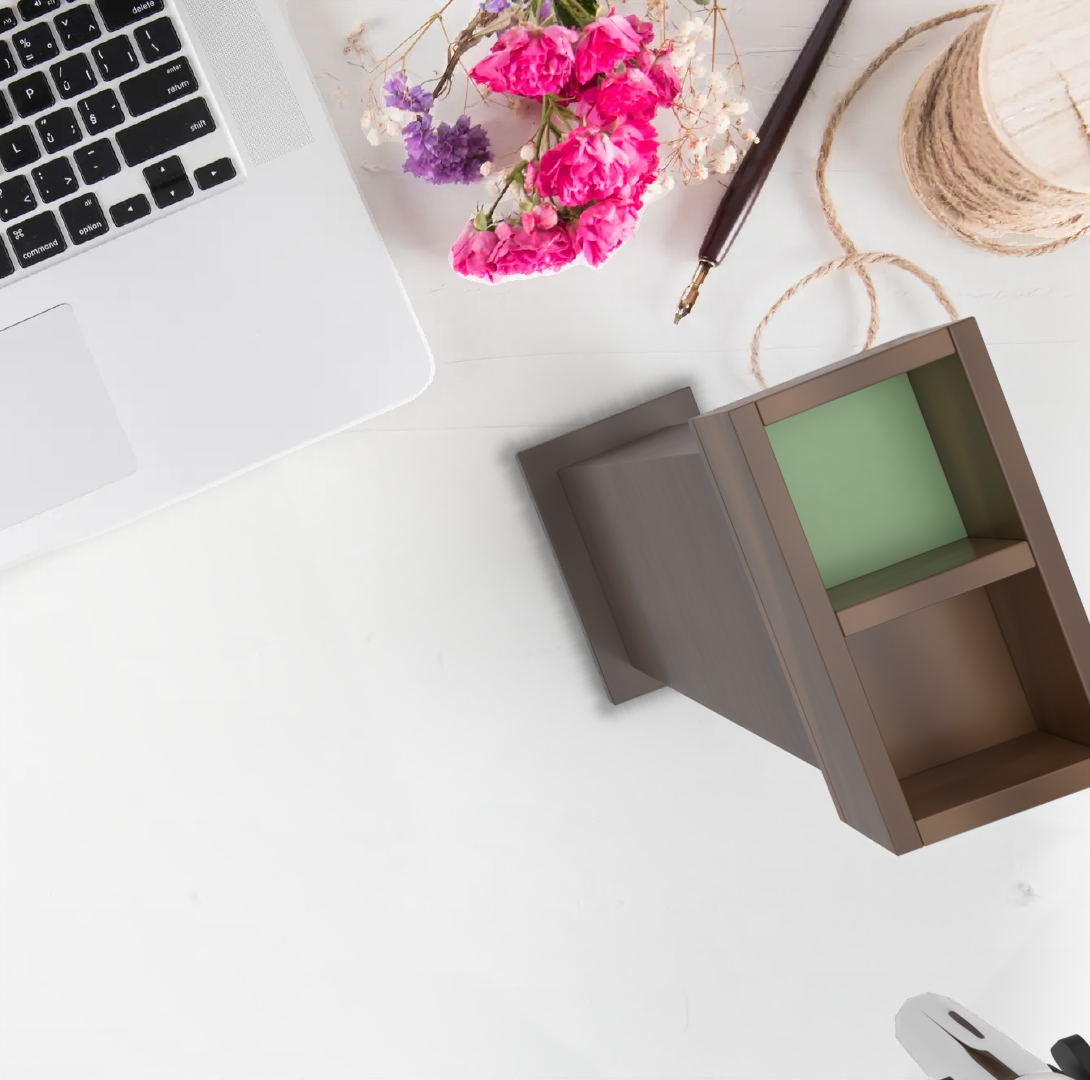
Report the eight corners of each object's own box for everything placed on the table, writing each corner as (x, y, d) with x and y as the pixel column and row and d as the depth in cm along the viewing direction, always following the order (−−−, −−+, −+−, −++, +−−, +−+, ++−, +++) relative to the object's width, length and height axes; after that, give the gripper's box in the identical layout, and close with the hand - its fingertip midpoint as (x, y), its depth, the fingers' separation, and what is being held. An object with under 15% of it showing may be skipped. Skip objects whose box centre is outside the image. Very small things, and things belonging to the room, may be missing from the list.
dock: (907, 334, 39) (975, 314, 35) (1060, 740, 40) (1145, 768, 35) (686, 420, 40) (727, 411, 36) (839, 820, 40) (897, 856, 36)
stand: (684, 387, 67) (940, 307, 39) (781, 639, 67) (1103, 738, 39) (513, 453, 68) (645, 422, 40) (610, 703, 68) (807, 845, 40)
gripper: (1769, 1620, 26) (1206, 973, 38) (1222, 1777, 27) (839, 1098, 39) (1586, 1587, 32) (1143, 1029, 43) (1136, 1719, 33) (822, 1138, 44)
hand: (1001, 1064), depth 41 cm, fingers closed on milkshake, 4 cm apart
